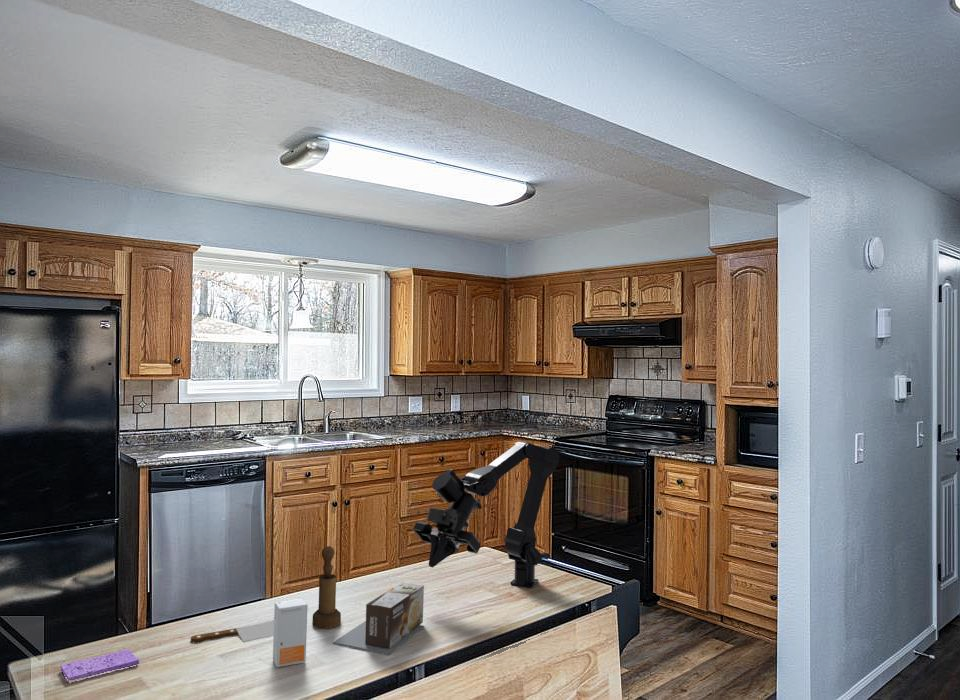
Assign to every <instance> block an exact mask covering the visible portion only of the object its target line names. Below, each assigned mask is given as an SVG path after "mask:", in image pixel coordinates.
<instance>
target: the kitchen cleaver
mask: <svg viewBox="0 0 960 700" xmlns="http://www.w3.org/2000/svg"><path fill="white" fill-rule="evenodd" d="M234 636H237V637H238V638H240V639H241V641H242V642H243V643H247V642H252V641H257V640H261V639H265V638H266V639H267V638H270V637H274V619H273V620H270V621H266V622H260V623H256V624H251V625H245V626H241V627H234V628H229V629H225V630H218V631H214V632H213V631H211V632H208V633H207V632H206V633H201V634H200V633H199V634H195V635H192V636H191V637H190V642H191V643H193V642H194V644H197V643H198V642H199V643H202V642H205V641H210V640H217V639H222V638H225V637H234ZM269 636H270V637H269Z"/></svg>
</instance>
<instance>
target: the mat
mask: <svg viewBox="0 0 960 700" xmlns="http://www.w3.org/2000/svg"><path fill="white" fill-rule="evenodd" d="M424 628H425V625H422V624H420V625H419V626H418V627H416V628H415V629H414V630H413V631H411V632H410V633H409V634H408V635H406V636H405V637H404V638H402V639H401V640H400V641H399V642H397V643H396V644H395V645H394V646H392V647H391V648H384V647H381V648H380V647H375V646H370V645H366V644H365V635H366V620H365V621H363V622H362V623H360V624H359V625H357V626H355V627H354V628H352V629H351V630H349V631H348V632H346V633H345V634H343V635H342V636H340V637H339V638H337V639H335V640H334V641H333V642H332V644H333V645H337V646H340V647H341V646H342V647H347V648H352V649H357V650H361V651H367V652H371V653H376V654H382V655H385V656H390V655H391V654H393V652H394V651H396V650H397V649H399V648H400V647H401V646H403V645H404V644H405V643H406V642H408V641H409V640H410V639H412V638H413V637H414V636H416V635H417V634H419V633H420V632H421V631H422V630H424ZM420 630H421V631H420ZM416 633H417V634H416Z"/></svg>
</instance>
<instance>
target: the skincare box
mask: <svg viewBox="0 0 960 700" xmlns="http://www.w3.org/2000/svg"><path fill="white" fill-rule="evenodd" d="M308 607H309V605H308V603H307V602H306V601H305V599H304V598H297V599H288V600H285V601H284V600H283V601H275V602H274V609H273V611H274V615H273V618H274V619H273V620H274V636H273V642H272V643H273V645H272V647H273V648H272V660H273V662H274V665H275V667H276V668H281V667H287V666H291V665H293V666H294V665H297V664H305V663H306V662H307V661H306V660H307V659H306V658H307V633H308V627H307V626H308Z"/></svg>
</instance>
